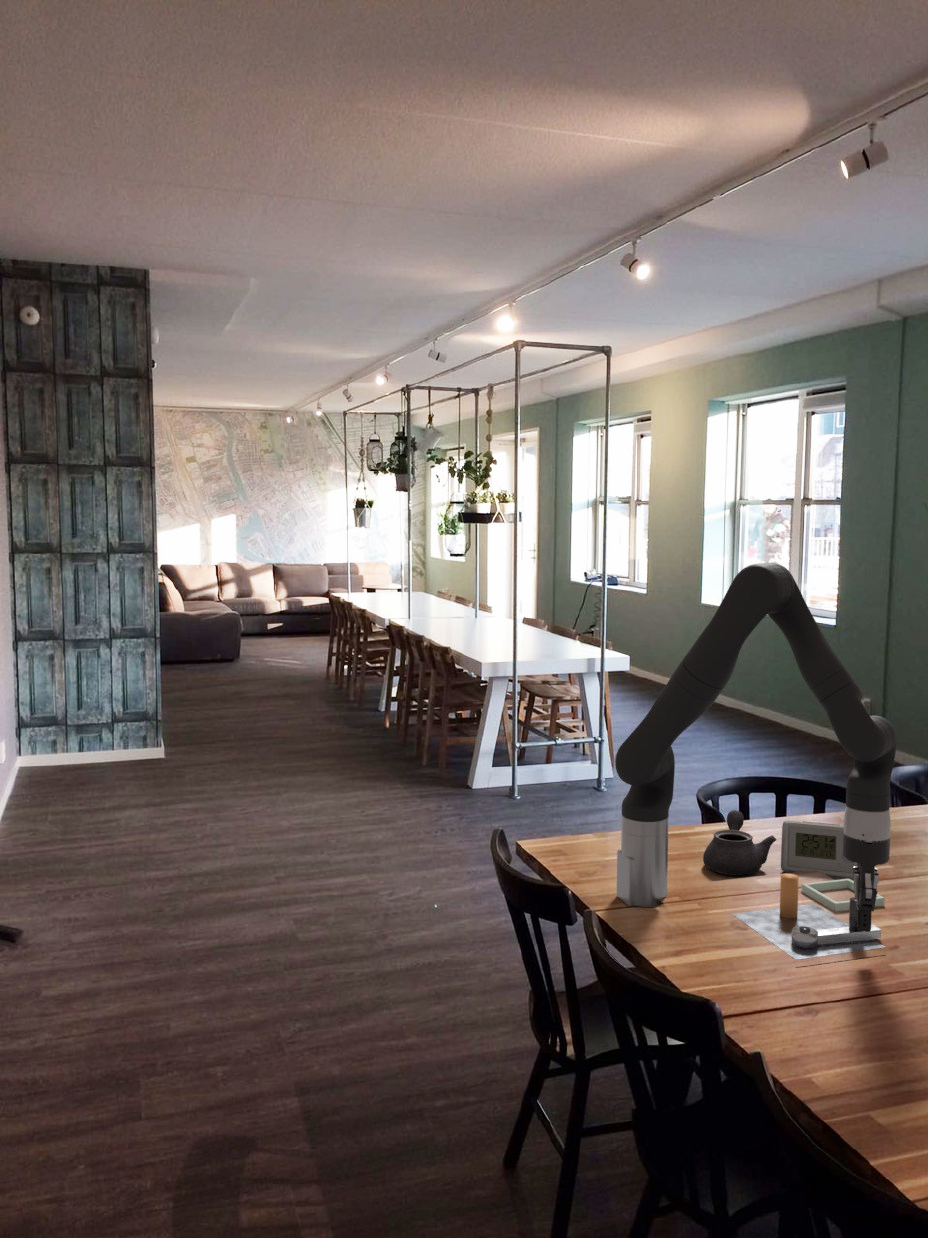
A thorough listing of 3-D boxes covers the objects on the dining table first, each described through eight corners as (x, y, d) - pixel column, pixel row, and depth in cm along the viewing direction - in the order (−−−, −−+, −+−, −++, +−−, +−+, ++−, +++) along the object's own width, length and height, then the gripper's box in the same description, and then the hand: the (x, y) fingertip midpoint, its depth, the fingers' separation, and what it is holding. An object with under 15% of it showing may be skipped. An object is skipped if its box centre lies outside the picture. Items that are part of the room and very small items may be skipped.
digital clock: (776, 873, 222) (778, 825, 221) (786, 860, 230) (788, 814, 229) (856, 886, 214) (858, 836, 213) (863, 873, 222) (865, 825, 221)
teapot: (781, 880, 218) (782, 834, 217) (706, 878, 219) (707, 832, 218) (765, 851, 236) (766, 809, 235) (696, 849, 238) (697, 807, 237)
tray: (834, 919, 197) (835, 903, 197) (801, 898, 208) (801, 884, 207) (884, 912, 200) (884, 897, 200) (848, 892, 210) (848, 878, 210)
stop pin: (785, 919, 193) (787, 880, 192) (776, 912, 196) (777, 874, 196) (800, 917, 194) (802, 878, 193) (791, 911, 197) (792, 872, 196)
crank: (799, 949, 179) (800, 910, 179) (786, 939, 184) (787, 900, 183) (884, 941, 183) (885, 902, 182) (869, 931, 187) (871, 893, 186)
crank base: (795, 968, 176) (796, 959, 176) (731, 921, 196) (731, 913, 196) (885, 955, 181) (886, 947, 181) (814, 911, 201) (814, 903, 201)
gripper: (840, 820, 185) (837, 914, 187) (846, 842, 173) (843, 942, 174) (885, 823, 183) (882, 918, 185) (895, 845, 171) (891, 947, 172)
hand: (863, 929), depth 180 cm, fingers closed
